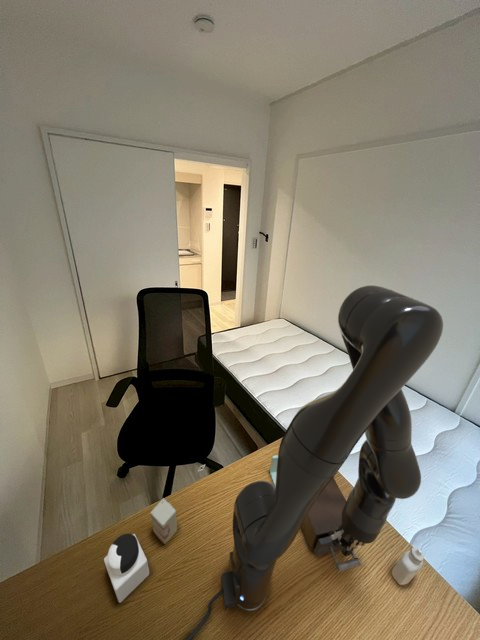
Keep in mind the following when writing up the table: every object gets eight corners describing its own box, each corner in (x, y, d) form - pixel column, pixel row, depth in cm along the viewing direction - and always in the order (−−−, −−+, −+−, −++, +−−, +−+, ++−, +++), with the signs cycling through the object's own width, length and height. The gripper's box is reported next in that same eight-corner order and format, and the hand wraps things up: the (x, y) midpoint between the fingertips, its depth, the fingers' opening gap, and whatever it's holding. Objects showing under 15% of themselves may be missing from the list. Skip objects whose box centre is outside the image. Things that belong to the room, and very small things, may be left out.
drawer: (365, 569, 62) (373, 557, 59) (325, 581, 59) (331, 569, 56) (327, 493, 78) (332, 481, 75) (294, 500, 75) (298, 488, 72)
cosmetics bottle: (152, 532, 66) (149, 511, 62) (165, 517, 69) (163, 496, 65) (165, 546, 63) (162, 526, 59) (178, 530, 67) (176, 509, 62)
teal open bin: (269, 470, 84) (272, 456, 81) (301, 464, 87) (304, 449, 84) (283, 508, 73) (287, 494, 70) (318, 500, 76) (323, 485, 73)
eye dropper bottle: (418, 587, 60) (438, 565, 55) (394, 584, 60) (413, 561, 55) (408, 564, 64) (426, 540, 59) (386, 561, 64) (402, 537, 59)
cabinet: (351, 540, 68) (359, 524, 64) (310, 551, 65) (316, 535, 61) (324, 486, 80) (329, 470, 77) (288, 493, 78) (293, 477, 74)
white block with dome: (137, 546, 63) (131, 521, 58) (150, 574, 59) (145, 549, 53) (108, 572, 58) (99, 547, 53) (119, 604, 54) (111, 580, 49)
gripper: (377, 488, 58) (357, 527, 66) (328, 499, 55) (313, 539, 63) (402, 525, 52) (377, 563, 59) (348, 540, 49) (329, 578, 56)
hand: (344, 551), depth 61 cm, fingers closed
